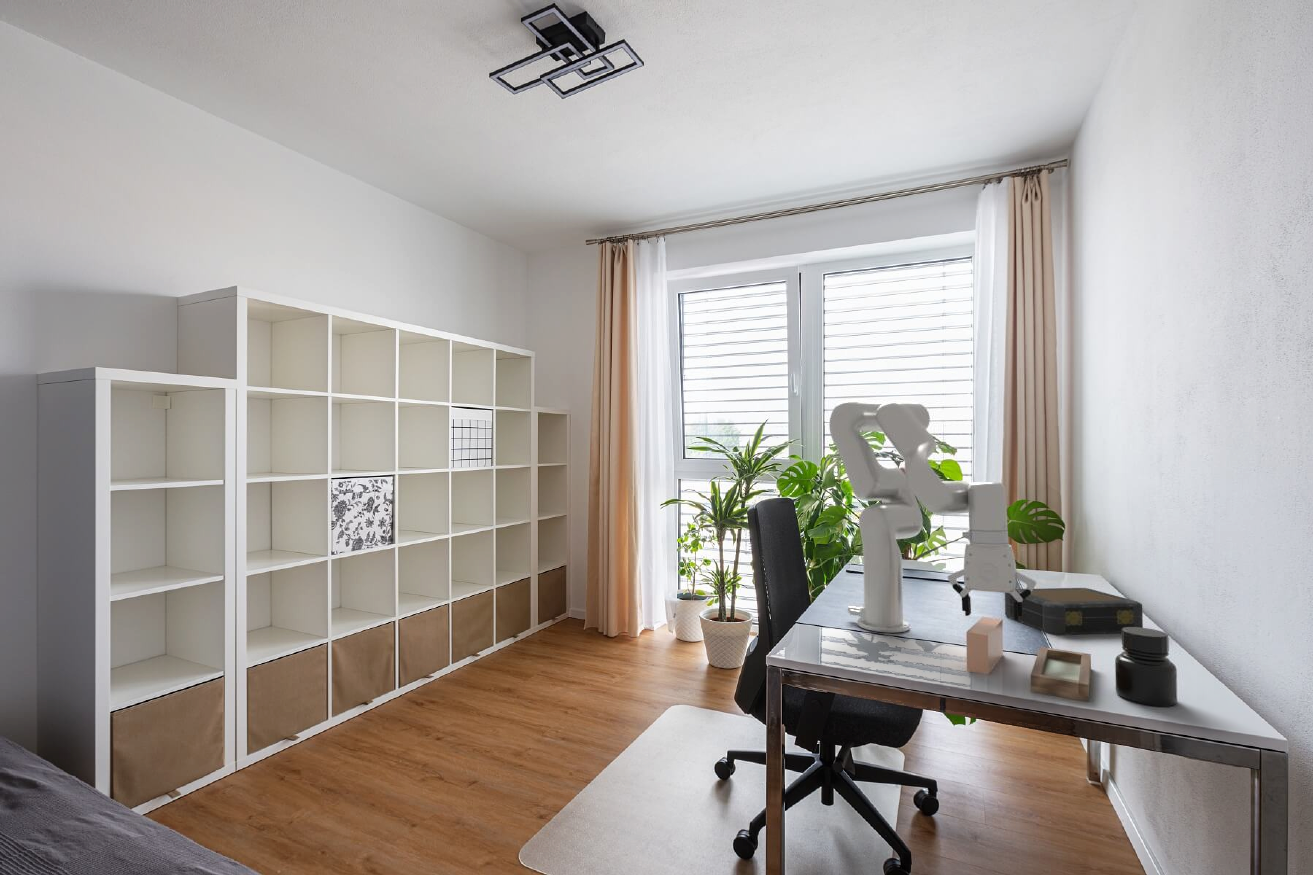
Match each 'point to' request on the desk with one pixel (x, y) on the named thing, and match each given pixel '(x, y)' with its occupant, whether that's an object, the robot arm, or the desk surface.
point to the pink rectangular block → (984, 645)
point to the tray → (1062, 673)
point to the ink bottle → (1146, 668)
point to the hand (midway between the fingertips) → (992, 617)
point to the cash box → (1076, 611)
